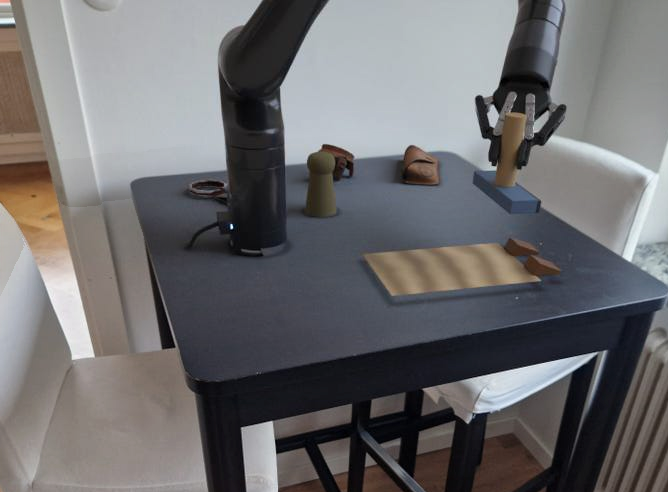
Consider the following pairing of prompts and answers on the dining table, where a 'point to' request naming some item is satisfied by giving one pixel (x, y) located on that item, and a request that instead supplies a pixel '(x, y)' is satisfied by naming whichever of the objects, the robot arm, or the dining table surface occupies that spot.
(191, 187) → the keychain
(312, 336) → the dining table surface
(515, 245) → the block
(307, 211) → the olive game pawn
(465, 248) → the cutting board
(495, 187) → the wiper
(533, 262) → the block
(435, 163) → the sunglasses case
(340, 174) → the brown piece
